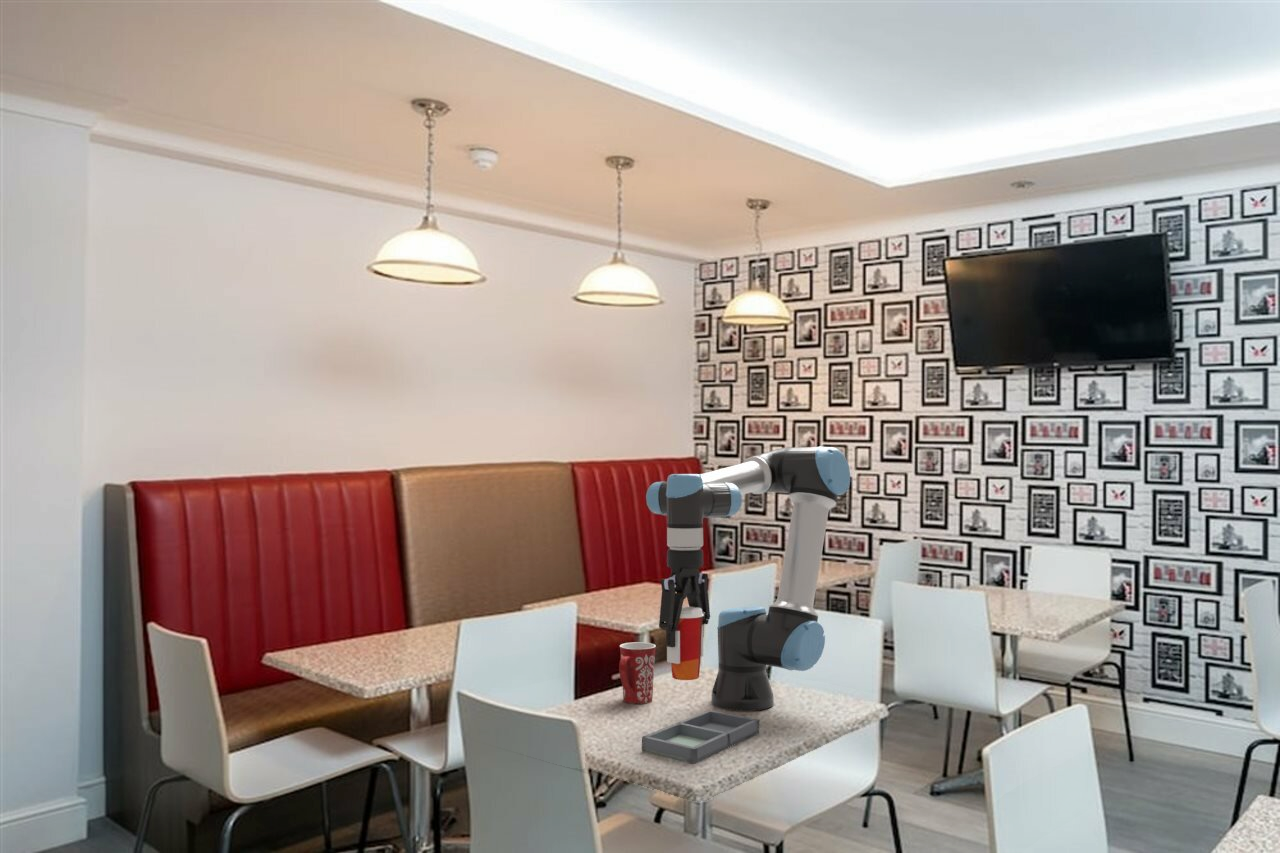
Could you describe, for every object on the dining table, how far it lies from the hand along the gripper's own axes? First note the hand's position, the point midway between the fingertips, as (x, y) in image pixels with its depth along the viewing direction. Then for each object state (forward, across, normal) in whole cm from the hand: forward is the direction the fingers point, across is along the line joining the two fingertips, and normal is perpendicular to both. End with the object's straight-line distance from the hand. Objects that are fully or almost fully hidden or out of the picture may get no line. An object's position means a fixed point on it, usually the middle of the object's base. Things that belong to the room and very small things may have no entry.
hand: (685, 658), depth 183 cm
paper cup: (+4, 0, 0) cm, 4 cm away
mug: (+18, -22, -31) cm, 42 cm away
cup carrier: (+18, -6, 0) cm, 19 cm away
